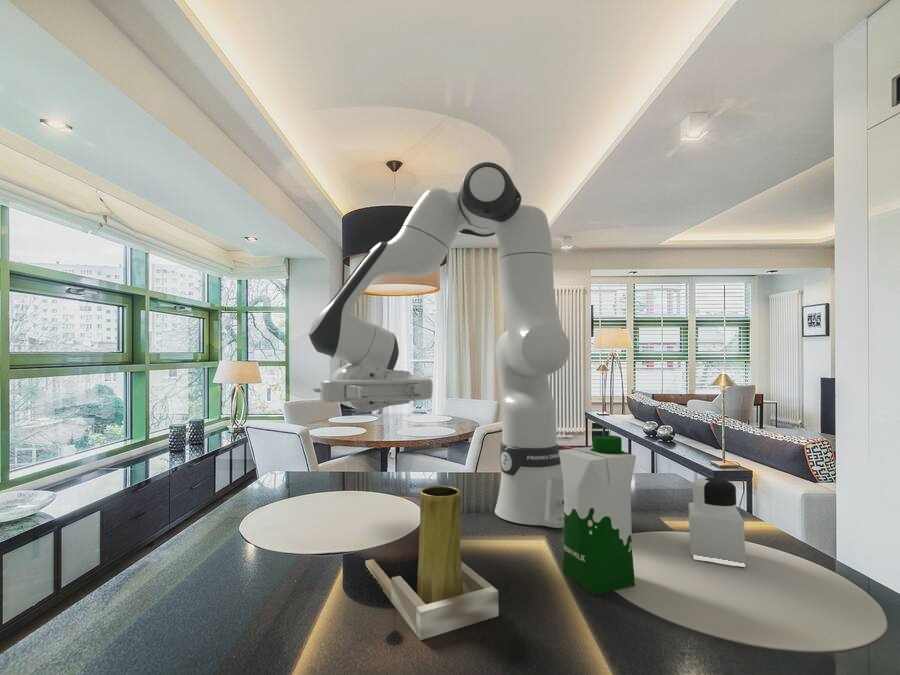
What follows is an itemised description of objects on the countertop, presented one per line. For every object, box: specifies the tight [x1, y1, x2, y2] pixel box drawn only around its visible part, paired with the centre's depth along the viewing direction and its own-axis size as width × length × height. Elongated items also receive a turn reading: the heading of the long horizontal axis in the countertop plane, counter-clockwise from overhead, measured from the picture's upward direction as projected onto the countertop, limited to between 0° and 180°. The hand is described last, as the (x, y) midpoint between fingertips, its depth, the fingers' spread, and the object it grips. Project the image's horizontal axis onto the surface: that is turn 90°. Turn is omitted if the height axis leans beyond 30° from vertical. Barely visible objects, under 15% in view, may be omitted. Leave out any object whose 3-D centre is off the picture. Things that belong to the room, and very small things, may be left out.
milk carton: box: [559, 434, 637, 596], centre depth 65 cm, size 9×9×20 cm
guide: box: [364, 558, 499, 641], centre depth 61 cm, size 10×20×3 cm, turn 28°
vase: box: [416, 485, 463, 605], centre depth 58 cm, size 6×6×14 cm
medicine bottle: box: [688, 476, 746, 564], centre depth 73 cm, size 7×7×12 cm
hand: (392, 392), depth 75 cm, fingers open, 8 cm apart
